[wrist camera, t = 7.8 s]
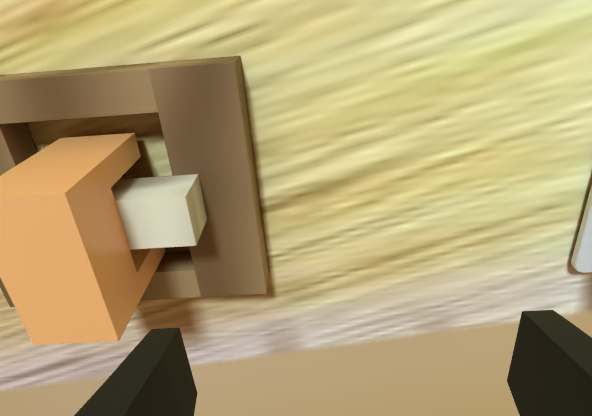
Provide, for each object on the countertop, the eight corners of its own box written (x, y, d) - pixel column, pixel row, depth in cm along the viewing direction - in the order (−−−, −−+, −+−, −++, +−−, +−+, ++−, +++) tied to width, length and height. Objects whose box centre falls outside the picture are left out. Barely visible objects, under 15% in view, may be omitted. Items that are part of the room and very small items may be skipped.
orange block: (134, 132, 17) (64, 192, 12) (165, 251, 19) (118, 340, 14) (60, 137, 17) (-39, 199, 12) (101, 255, 19) (33, 344, 15)
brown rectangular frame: (239, 55, 16) (224, 72, 13) (269, 273, 20) (262, 325, 17) (-68, 80, 16) (-154, 102, 13) (28, 286, 21) (-19, 338, 18)
